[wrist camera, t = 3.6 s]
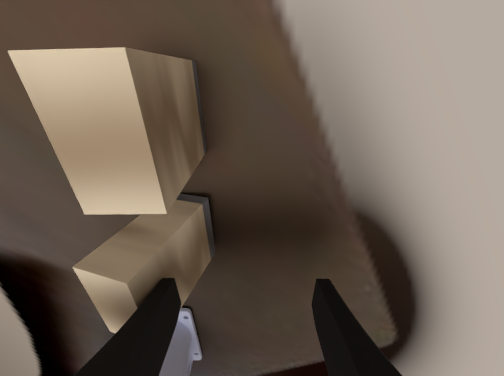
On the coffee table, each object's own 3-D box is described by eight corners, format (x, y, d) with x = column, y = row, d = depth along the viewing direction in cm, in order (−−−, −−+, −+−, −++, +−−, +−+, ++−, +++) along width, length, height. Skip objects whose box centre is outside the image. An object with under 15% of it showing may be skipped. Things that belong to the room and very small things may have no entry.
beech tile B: (206, 151, 14) (166, 214, 8) (161, 151, 14) (85, 214, 8) (195, 61, 11) (124, 47, 5) (140, 62, 12) (7, 50, 5)
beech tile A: (215, 252, 17) (155, 349, 11) (182, 245, 18) (110, 331, 12) (208, 197, 15) (126, 283, 9) (170, 192, 15) (72, 266, 9)
